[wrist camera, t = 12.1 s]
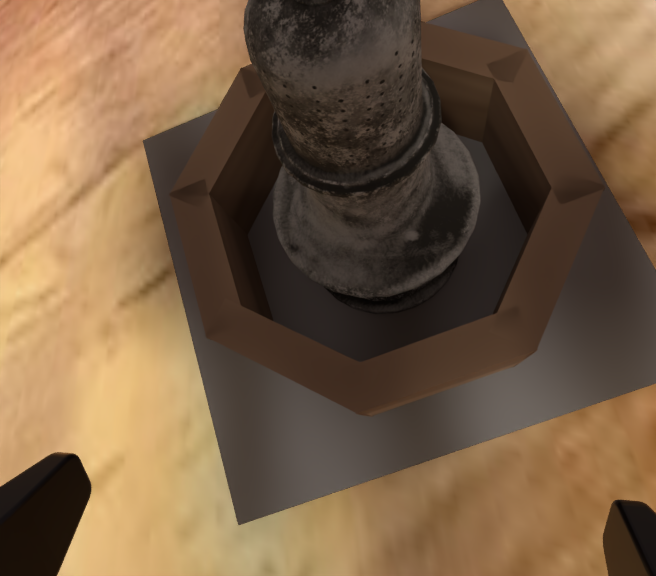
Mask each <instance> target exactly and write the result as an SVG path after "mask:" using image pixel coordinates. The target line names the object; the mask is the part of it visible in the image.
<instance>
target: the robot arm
mask: <svg viewBox="0 0 656 576" xmlns="http://www.w3.org/2000/svg"><path fill="white" fill-rule="evenodd" d="M90 494H91V482H90V480H89V478H88V475H87V473H86V471H85V469H84V467H83V465H82V462H81V460H80V458H79V457H78V456H77V455H76V454H73V453H61V452H57V453H53V454H50V455H49V456H47V457H45V458H44V459H42V460H41V461H39V462H38V463H36V464H35V465H33V466H32V467H30V468H29V469H27V470H25V471H24V472H22V473H21V474H19V475H18V476H16V477H15V478H13V479H12V480H10V481H9V482H7V483H5V484H4V485H2V486H1V487H0V576H57V574H58V572H59V570H60V568H61V565H62V563H63V561H64V558H65V556H66V553H67V551H68V549H69V546H70V544H71V541H72V539H73V537H74V534H75V532H76V529H77V527H78V524H79V522H80V520H81V517H82V515H83V512H84V510H85V508H86V505H87V503H88V500H89V498H90ZM603 548H604V554H605V559H606V564H607V570H608V575H609V576H656V513H655V512H654V511H653V510H652V509H651V508H650V507H649V506H648V505H647V504H645V503H643V502H640V501H629V500H615V501H614V502H613V503H612V505H611V508H610V512H609V515H608V519H607V522H606V526H605V529H604V533H603Z"/></svg>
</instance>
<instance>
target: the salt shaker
mask: <svg viewBox="0 0 656 576" xmlns="http://www.w3.org/2000/svg"><path fill="white" fill-rule="evenodd" d="M244 35H245V41H246V45H247V49H248V53H249V57H250V60H251V62H252V64H253V66H254V69H255V71H256V73H257V75H258V77H259V79H260V81H261V83H262V85H263V87H264V89H265V91H266V93H267V95H268V97H269V100H270V102H271V104H272V106H273V108H274V110H275V111H274V114H273V117H272V136H271V137H272V140H273V144H274V148H275V152H276V155H277V157H278V158H279V160H280V162H281V163H282V167H281V169H280V172H279V175H278V179H277V182H276V185H275V188H274V192H273V219H274V223H275V227H276V231H277V236H278V239H279V241H280V243H281V245H282V246H283V248H284V250H285V251H286V253H287V255H288V257H289V258H290V260H291V261H292V263H294V264H295V265H296V266H297V267H298V268H299V269H300V270H301V271H302V272H303V273H304V274H305V275H306V276H307V277H308V278H309V279H310V280H312V281H314V282H316V283H318V284H320V285H322V286H323V287H324V288H325V289H326V290H327V291H328V292H329V293H330V294H332V295H333V296H334V297H335V298H336V299H337V300H338V301H340V302H342V303H344V304H346V305H348V306H350V307H351V308H353V309H356V310H360V311H365V312H369V313H374V314H381V313H397V312H400V311H404V310H407V309H410V308H414V307H416V306H418V305H420V304H421V303H423V302H425V301H426V300H428V299H429V298H431V297H433V296H434V295H435V294H436V293H437V292H438V291H439V290H440V289H441V288H442V287H443V286H444V285H445V283H446V282H447V281H448V279H449V278H450V276H451V274H452V272H453V270H454V268H455V267H456V265H457V262H458V257H459V255H460V254H461V253H462V251H463V249H464V247H465V245H466V244H467V242H468V240H469V238H470V236H471V234H472V232H473V231H474V229H475V225H476V220H477V216H478V211H479V206H480V202H481V199H480V186H479V175H478V172H477V170H476V167H475V165H474V162H473V160H472V157H471V154H470V152H469V151H468V149H467V148H466V147H465V145H464V144H463V143H462V142H461V140H460V139H459V138H458V136H457V135H456V134H455V133H454V132H453V131H452V130H451V129H449V128H448V127H447V126H445V125H444V124H442V123H441V122H442V117H441V99H440V97H439V94H438V92H437V89H436V86H435V84H434V81H433V80H432V79H431V78H430V76H429V75H428V74H427V73H426V72H425V70H424V69H423V68H422V57H421V12H420V0H248V3H247V6H246V8H245V13H244Z"/></svg>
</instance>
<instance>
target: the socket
mask: <svg viewBox="0 0 656 576" xmlns="http://www.w3.org/2000/svg"><path fill="white" fill-rule="evenodd" d="M421 57H422V68H423V69H424V70H425V72H426V73H427V74H428V75H429V76H430V78H431V79H432V80H433V81H434V84H435V86H436V89H437V92H438V94H439V97H440V99H441V117H442V122H441V123H442V124H444V125H445V126H447V127H448V128H449V129H451V130H452V131H453V132H454V133H455V134H456V135H457V136H458V138H459V139H460V140H461V142H462V143H463V144H464V145H465V147H466V148H467V149H468V151H469V152H470V154H471V157H472V160H473V162H474V165H475V167H476V170H477V172H478V175H479V186H480V199H481V202H480V206H479V211H478V216H477V220H476V225H475V229H474V231H473V232H472V234H471V236H470V238H469V240H468V242H467V244H466V245H465V247H464V249H463V251H462V253H461V254H460V255H459V257H458V262H457V265H456V267H455V268H454V270H453V272H452V274H451V276H450V278H449V279H448V281H447V282H446V283H445V285H444V286H443V287H442V288H441V289H440V290H439V291H438V292H437V293H436V294H435V295H434V296H433V297H431V298H429V299H428V300H426V301H425V302H423V303H421V304H420V305H418V306H416V307H414V308H410V309H407V310H404V311H400V312H397V313H381V314H374V313H369V312H365V311H360V310H356V309H353V308H351V307H350V306H348V305H346V304H344V303H342V302H340V301H338V300H337V299H336V298H335V297H334V296H333V295H332V294H330V293H329V292H328V291H327V290H326V289H325V288H324V287H323V286H322V285H320V284H318V283H316V282H314V281H312V280H310V279H309V278H308V277H307V276H306V275H305V274H304V273H303V272H302V271H301V270H300V269H299V268H298V267H297V266H296V265H295V264H294V263H292V261H291V260H290V258H289V257H288V255H287V253H286V251H285V250H284V248H283V246H282V245H281V243H280V241H279V239H278V236H277V231H276V227H275V223H274V219H273V192H274V188H275V185H276V182H277V179H278V175H279V172H280V169H281V167H282V163H281V162H280V160H279V158H278V157H277V155H276V152H275V148H274V144H273V140H272V137H271V136H272V117H273V114H274V111H275V110H274V108H273V106H272V104H271V102H270V100H269V97H268V95H267V93H266V91H265V89H264V87H263V85H262V83H261V81H260V79H259V77H258V75H257V73H256V71H255V69H254V66H253V64H250V65H248V66H246V67H243V68H241V69H240V71H239V73H238V74H237V76H236V78H235V80H234V82H233V83H232V85H231V87H230V89H229V90H228V92H227V94H226V96H225V97H224V99H223V101H222V103H221V104H220V106H219V108H218V109H217V110H215V111H213V112H210V113H208V114H205V115H203V116H201V117H198V118H196V119H193V120H191V121H189V122H186V123H184V124H181V125H179V126H177V127H174V128H172V129H169V130H167V131H165V132H162V133H160V134H157V135H155V136H153V137H150V138H148V139H145V140H143V143H144V147H145V151H146V155H147V159H148V163H149V168H150V172H151V176H152V180H153V184H154V188H155V192H156V196H157V200H158V204H159V208H160V212H161V216H162V220H163V224H164V228H165V232H166V236H167V240H168V244H169V248H170V252H171V256H172V260H173V264H174V268H175V272H176V276H177V280H178V284H179V288H180V292H181V296H182V300H183V304H184V308H185V312H186V316H187V320H188V324H189V328H190V333H191V337H192V341H193V345H194V349H195V353H196V357H197V361H198V365H199V369H200V373H201V377H202V381H203V385H204V389H205V393H206V397H207V401H208V405H209V409H210V413H211V417H212V421H213V425H214V429H215V433H216V437H217V441H218V445H219V449H220V453H221V457H222V461H223V465H224V469H225V473H226V477H227V481H228V485H229V489H230V494H231V498H232V502H233V506H234V510H235V514H236V518H237V522H238V525H241V524H244V523H247V522H250V521H253V520H255V519H258V518H261V517H264V516H267V515H270V514H273V513H276V512H279V511H282V510H285V509H288V508H291V507H294V506H297V505H300V504H303V503H305V502H308V501H311V500H314V499H317V498H320V497H323V496H326V495H329V494H332V493H335V492H338V491H341V490H344V489H347V488H350V487H352V486H355V485H358V484H361V483H364V482H367V481H370V480H373V479H376V478H379V477H382V476H385V475H388V474H391V473H394V472H397V471H400V470H402V469H405V468H408V467H411V466H414V465H417V464H420V463H423V462H426V461H429V460H432V459H435V458H438V457H441V456H444V455H447V454H450V453H452V452H455V451H458V450H461V449H464V448H467V447H470V446H473V445H476V444H479V443H482V442H485V441H488V440H491V439H494V438H497V437H500V436H502V435H505V434H508V433H511V432H514V431H517V430H520V429H523V428H526V427H529V426H532V425H535V424H538V423H541V422H544V421H547V420H550V419H552V418H555V417H558V416H561V415H564V414H567V413H570V412H573V411H576V410H579V409H582V408H585V407H588V406H591V405H594V404H597V403H600V402H602V401H605V400H608V399H611V398H614V397H617V396H620V395H623V394H626V393H629V392H632V391H635V390H638V389H641V388H644V387H647V386H650V385H652V384H655V383H656V270H655V268H654V266H653V265H652V263H651V261H650V259H649V258H648V256H647V254H646V252H645V250H644V249H643V247H642V245H641V243H640V242H639V240H638V238H637V236H636V235H635V233H634V231H633V229H632V228H631V226H630V224H629V222H628V221H627V219H626V217H625V215H624V213H623V212H622V210H621V208H620V206H619V205H618V203H617V201H616V199H615V198H614V196H613V194H612V192H611V191H610V189H609V187H608V185H607V184H606V182H605V180H604V178H603V176H602V175H601V173H600V171H599V169H598V168H597V166H596V164H595V162H594V161H593V159H592V157H591V155H590V154H589V152H588V150H587V148H586V147H585V145H584V143H583V141H582V139H581V138H580V136H579V134H578V132H577V131H576V129H575V127H574V125H573V124H572V122H571V120H570V118H569V117H568V115H567V113H566V111H565V110H564V108H563V106H562V104H561V102H560V101H559V99H558V97H557V95H556V94H555V92H554V90H553V88H552V87H551V85H550V83H549V81H548V80H547V78H546V76H545V74H544V73H543V71H542V69H541V67H540V65H539V64H538V62H537V60H536V58H535V57H534V55H533V53H532V51H531V50H530V48H529V46H528V44H527V43H526V41H525V39H524V37H523V36H522V34H521V32H520V30H519V28H518V27H517V25H516V23H515V21H514V20H513V18H512V16H511V14H510V13H509V11H508V9H507V7H506V6H505V4H504V2H503V0H478V1H476V2H474V3H471V4H469V5H466V6H464V7H462V8H459V9H457V10H455V11H452V12H450V13H447V14H445V15H443V16H440V17H438V18H435V19H433V20H431V21H428V22H426V23H425V22H421Z"/></svg>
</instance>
